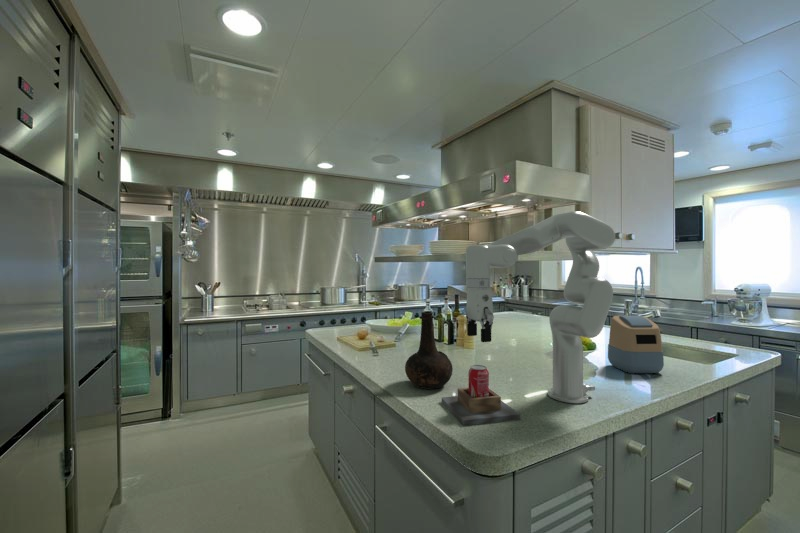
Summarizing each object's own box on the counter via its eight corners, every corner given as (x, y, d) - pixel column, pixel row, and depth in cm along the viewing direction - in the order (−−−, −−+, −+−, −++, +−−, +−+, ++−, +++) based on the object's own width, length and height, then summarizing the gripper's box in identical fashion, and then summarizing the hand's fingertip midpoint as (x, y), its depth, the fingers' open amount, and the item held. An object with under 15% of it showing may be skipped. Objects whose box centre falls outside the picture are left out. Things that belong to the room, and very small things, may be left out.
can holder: (490, 397, 120) (490, 381, 121) (520, 419, 103) (520, 400, 103) (441, 401, 116) (441, 385, 116) (463, 425, 99) (463, 406, 99)
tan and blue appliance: (628, 375, 144) (628, 319, 144) (604, 364, 161) (604, 314, 161) (668, 375, 145) (668, 319, 145) (640, 364, 161) (639, 314, 161)
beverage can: (470, 400, 114) (470, 363, 114) (490, 402, 112) (490, 365, 112) (466, 407, 108) (466, 368, 108) (487, 410, 106) (487, 370, 106)
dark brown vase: (462, 387, 130) (461, 312, 130) (422, 397, 121) (422, 316, 121) (433, 375, 145) (433, 308, 145) (396, 382, 136) (396, 310, 136)
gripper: (503, 285, 102) (503, 343, 102) (477, 282, 119) (477, 332, 119) (479, 286, 101) (480, 345, 101) (456, 283, 117) (457, 334, 117)
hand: (478, 338), depth 110 cm, fingers open, 9 cm apart
